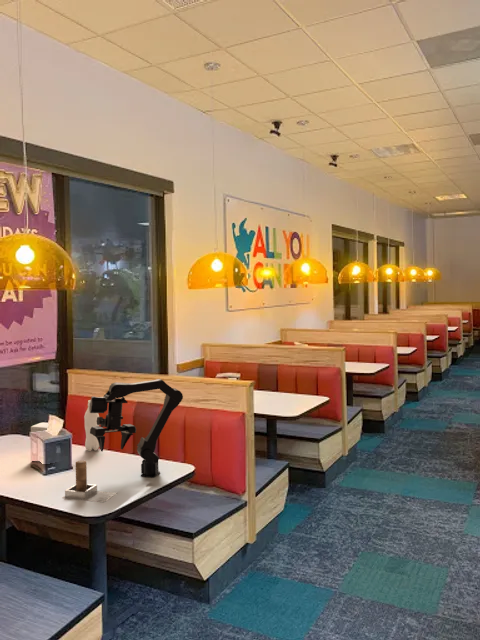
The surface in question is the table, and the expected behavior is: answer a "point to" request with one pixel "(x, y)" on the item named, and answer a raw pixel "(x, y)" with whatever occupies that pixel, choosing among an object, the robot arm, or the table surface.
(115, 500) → the table surface
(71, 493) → the beige square tray
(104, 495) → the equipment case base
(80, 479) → the stay rod
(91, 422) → the water bottle
